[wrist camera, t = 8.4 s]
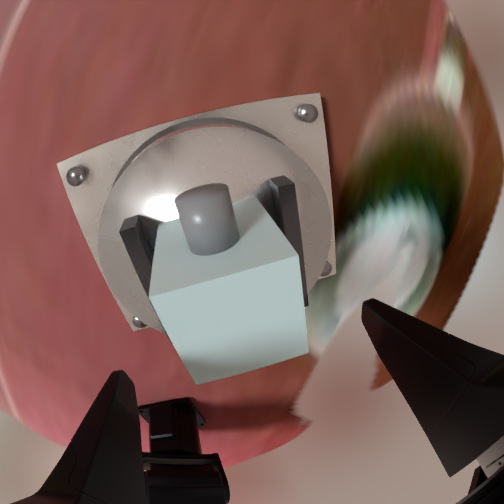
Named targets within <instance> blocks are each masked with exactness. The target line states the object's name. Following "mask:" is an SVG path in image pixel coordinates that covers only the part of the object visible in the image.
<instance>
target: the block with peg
mask: <svg viewBox="0 0 504 504" xmlns="http://www.w3.org/2000/svg"><path fill="white" fill-rule="evenodd" d="M174 203H175V206H176V209H177V212H178V215H179V218H177V219H173V220H170V221H167V222H163V223H160V224H158V230H157V237H156V243H155V250H154V257H153V265H152V272H151V281H150V289H149V299H150V301H151V303H152V305H153V307H154V309H155V311H156V313H157V315H158V317H159V319H160V321H161V323H162V325H163V327H164V329H165V331H166V332H167V334H168V336H169V338H170V340H171V342H172V344H173V345H174V347H175V349H176V351H177V353H178V354H179V356H180V358H181V360H182V362H183V363H184V365H185V367H186V369H187V370H188V372H189V374H190V375H191V377H192V379H193V380H194V382H195V384H196V385H197V384H201V383H206V382H210V381H214V380H218V379H222V378H226V377H230V376H233V375H237V374H241V373H244V372H248V371H252V370H255V369H258V368H262V367H265V366H269V365H272V364H275V363H278V362H281V361H285V360H288V359H291V358H294V357H297V356H300V355H303V354H306V353H309V352H308V340H307V329H306V319H305V309H304V299H303V290H302V281H301V272H300V263H299V255H298V254H297V252H296V251H295V250H294V248H293V247H292V245H291V244H290V243H289V241H288V240H287V238H286V237H285V236H284V234H283V233H282V232H281V230H280V229H279V228H278V226H277V225H276V223H275V222H274V221H273V219H272V218H271V217H270V215H269V214H268V213H267V211H266V210H265V209H264V207H263V206H262V205H261V203H260V202H259V201H258V199H257V198H256V197H253V198H249V199H245V200H242V201H238V202H234V203H232V201H231V197H230V193H229V188H228V186H227V185H226V184H223V183H212V184H205V185H201V186H197V187H194V188H192V189H189V190H187V191H185V192H183V193H181V194H180V195H178V196H177V197H176V198H175V200H174Z"/></svg>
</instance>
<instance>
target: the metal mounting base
mask: <svg viewBox="0 0 504 504" xmlns="http://www.w3.org/2000/svg"><path fill="white" fill-rule="evenodd" d="M57 166H58V169H59V172H60V175H61V178H62V181H63V184H64V187H65V189H66V192H67V195H68V197H69V200H70V203H71V205H72V208H73V210H74V213H75V215H76V218H77V220H78V222H79V225H80V227H81V230H82V232H83V234H84V236H85V239H86V241H87V243H88V245H89V248H90V250H91V252H92V254H93V256H94V258H95V260H96V262H97V265H98V267H99V269H100V271H101V273H102V275H103V277H104V279H105V281H106V283H107V285H108V286H109V288H110V290H111V292H112V294H113V296H114V298H115V300H116V301H117V303H118V305H119V307H120V309H121V311H122V312H123V314H124V316H125V318H126V319H127V321H128V323H129V324H130V326H131V328H132V330H133V331H136V330H140V329H144V328H149V327H152V328H153V329H155V330H158V331H160V332H162V333H165V334H167V332H166V331H165V329H164V327H163V325H162V323H161V321H160V319H159V317H158V315H157V313H156V311H155V309H154V307H153V305H152V303H151V301H150V299H149V289H150V281H151V272H152V265H153V257H154V250H155V243H156V237H157V230H158V224H160V223H163V222H167V221H170V220H173V219H177V218H179V215H178V212H177V209H176V206H175V203H174V200H175V198H176V197H177V196H178V195H180V194H181V193H183V192H185V191H187V190H189V189H192V188H194V187H197V186H201V185H205V184H212V183H223V184H226V185H227V186H228V188H229V193H230V197H231V201H232V203H234V202H238V201H242V200H245V199H249V198H253V197H256V198H257V199H258V201H259V202H260V203H261V205H262V206H263V207H264V209H265V210H266V211H267V213H268V214H269V215H270V217H271V218H272V219H273V221H274V222H275V223H276V225H277V226H278V228H279V229H280V230H281V232H282V233H283V234H284V236H285V237H286V238H287V240H288V241H289V243H290V244H291V245H292V247H293V248H294V250H295V251H296V252H297V254H298V255H299V263H300V272H301V281H302V290H303V299H304V307H306V306H308V294H309V292H310V291H311V289H312V288H313V287H314V285H315V284H316V282H317V280H319V279H322V278H325V277H328V276H331V275H334V274H336V255H335V233H334V216H333V202H332V190H331V178H330V168H329V158H328V149H327V140H326V132H325V124H324V117H323V110H322V103H321V96H320V93H309V94H300V95H292V96H285V97H278V98H272V99H266V100H260V101H254V102H249V103H243V104H238V105H233V106H228V107H224V108H219V109H215V110H211V111H206V112H202V113H198V114H194V115H190V116H187V117H183V118H179V119H176V120H172V121H169V122H165V123H162V124H158V125H155V126H152V127H149V128H146V129H143V130H140V131H137V132H134V133H131V134H128V135H125V136H122V137H119V138H116V139H114V140H111V141H108V142H106V143H103V144H101V145H98V146H95V147H93V148H90V149H88V150H86V151H83V152H81V153H78V154H76V155H74V156H71V157H69V158H67V159H65V160H62V161H61V162H59V163H57ZM167 336H168V334H167ZM168 338H169V336H168ZM169 340H170V338H169ZM170 341H171V340H170ZM171 343H172V342H171Z"/></svg>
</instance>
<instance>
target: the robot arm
mask: <svg viewBox="0 0 504 504" xmlns="http://www.w3.org/2000/svg"><path fill="white" fill-rule="evenodd" d="M362 322H363V325H364V327H365V329H366V331H367V333H368V335H369V337H370V339H371V341H372V343H373V345H374V347H375V349H376V351H377V353H378V355H379V357H380V359H381V360H382V362H383V363H384V365H385V367H386V368H387V370H388V371H389V373H390V375H391V376H392V378H393V380H394V381H395V383H396V384H397V386H398V388H399V389H400V391H401V392H402V394H403V396H404V398H405V399H406V401H407V403H408V404H409V406H410V407H411V409H412V411H413V413H414V415H415V416H416V418H417V420H418V421H419V423H420V425H421V427H422V428H423V430H424V432H425V434H426V435H427V437H428V439H429V441H430V443H431V444H432V446H433V448H434V450H435V452H436V453H437V455H438V457H439V459H440V460H441V463H442V464H443V466H444V468H445V470H446V472H447V474H448V476H449V477H451V476H453V475H454V474H456V473H457V472H459V471H460V470H462V469H463V468H464V467H465V466H467V465H468V464H470V463H471V462H472V461H474V460H475V459H477V460H478V462H479V464H480V466H479V467H477V468H476V469H475V471H474V475H473V478H472V482H471V486H470V489H469V493H468V495H467V496H466V497H464V498H463V499H462V500H460V501H459V502H458V503H456V504H504V355H502V354H499V353H496V352H494V351H491V350H488V349H485V348H482V347H479V346H477V345H474V344H471V343H469V342H467V341H464V340H462V339H460V338H457V337H455V336H453V335H451V334H448V333H447V332H445V331H443V330H440V329H438V328H436V327H434V326H432V325H430V324H428V323H426V322H423V321H421V320H419V319H417V318H415V317H413V316H411V315H408V314H406V313H404V312H402V311H400V310H398V309H396V308H393V307H391V306H389V305H387V304H385V303H383V302H381V301H378V300H376V299H373V298H372V299H369V300H366V301H364V302H363V305H362ZM139 414H140V415H141V416H142V417H143V418H144V419H145V420H146V421H147V422H148V423H149V445H150V453H148V452H142V446H141V430H140V419H139ZM205 425H206V422H205V420H204V419H203V417H202V416H201V414H200V413H199V412H198V410H197V409H196V407H195V406H194V405H193V403H192V402H191V400H190V399H187V398H185V399H180V400H175V401H169V402H164V403H158V404H152V405H146V406H140V407H138V406H137V400H136V392H135V386H134V384H133V382H132V380H131V379H130V378H129V377H128V375H127V374H126V373H125V372H124V371H123V370H117V371H113V372H112V373H111V375H110V376H109V378H108V379H107V381H106V383H105V384H104V386H103V387H102V389H101V391H100V392H99V394H98V396H97V397H96V399H95V401H94V402H93V404H92V406H91V407H90V409H89V411H88V412H87V414H86V416H85V417H84V419H83V421H82V422H81V424H80V426H79V428H78V429H77V431H76V433H75V435H74V436H73V438H72V440H71V442H70V443H69V445H68V447H67V449H66V450H65V452H64V454H63V456H62V457H61V459H60V460H59V462H58V463H57V465H56V466H55V468H54V469H53V471H52V472H51V474H50V475H49V477H48V478H47V480H46V481H45V483H44V484H43V485H42V487H41V488H40V489H39V490H38V492H36V493H35V494H34V495H32V496H30V497H27V498H25V499H22V500H19V501H17V502H14V503H11V504H228V503H229V500H230V492H229V485H228V481H227V478H226V475H225V472H224V469H223V467H222V464H221V461H220V458H219V455H218V453H213V454H202V451H201V445H200V438H199V432H198V427H202V426H205ZM144 470H147V471H146V472H145V471H144Z"/></svg>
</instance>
